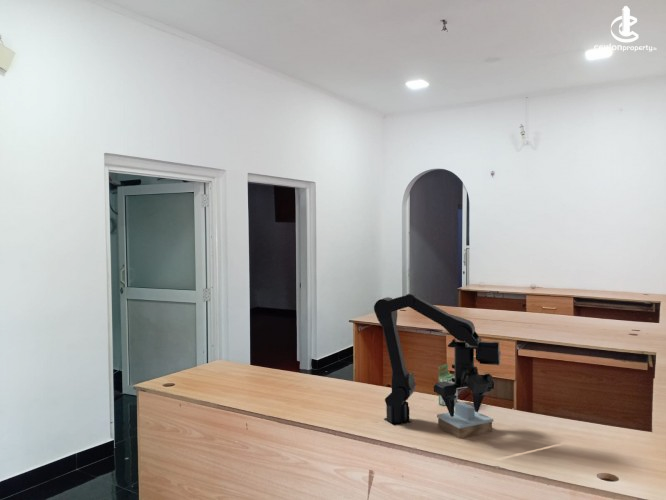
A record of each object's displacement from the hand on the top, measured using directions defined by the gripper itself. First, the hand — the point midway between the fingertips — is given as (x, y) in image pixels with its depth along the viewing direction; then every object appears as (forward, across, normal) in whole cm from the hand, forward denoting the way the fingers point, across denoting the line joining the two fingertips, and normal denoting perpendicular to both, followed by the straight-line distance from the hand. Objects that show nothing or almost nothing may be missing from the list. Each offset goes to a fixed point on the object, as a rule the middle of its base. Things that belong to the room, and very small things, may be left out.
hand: (464, 414), depth 155 cm
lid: (+2, 0, 0) cm, 2 cm away
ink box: (+5, +12, +23) cm, 27 cm away
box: (+5, 0, 0) cm, 5 cm away
